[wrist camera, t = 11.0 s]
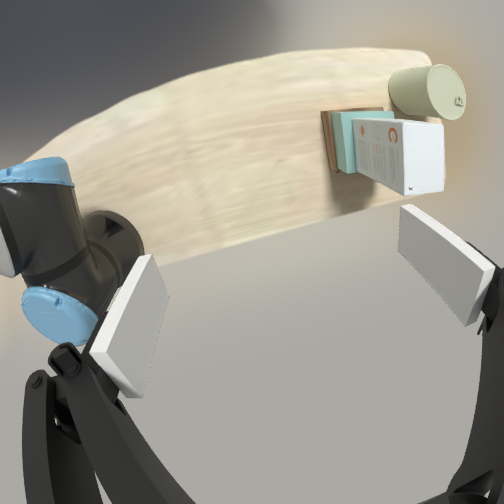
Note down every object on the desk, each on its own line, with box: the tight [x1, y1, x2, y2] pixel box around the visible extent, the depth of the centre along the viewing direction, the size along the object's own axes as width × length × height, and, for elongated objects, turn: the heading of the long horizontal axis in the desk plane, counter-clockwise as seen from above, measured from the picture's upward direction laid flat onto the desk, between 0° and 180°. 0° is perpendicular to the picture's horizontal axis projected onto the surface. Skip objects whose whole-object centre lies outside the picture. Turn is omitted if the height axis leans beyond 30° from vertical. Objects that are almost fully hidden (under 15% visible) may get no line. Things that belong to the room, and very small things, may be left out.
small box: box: [352, 118, 445, 196], centre depth 29 cm, size 8×6×13 cm
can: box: [389, 64, 466, 121], centre depth 32 cm, size 9×9×12 cm
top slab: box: [331, 111, 395, 174], centre depth 36 cm, size 9×9×4 cm
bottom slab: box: [321, 107, 384, 173], centre depth 40 cm, size 10×10×4 cm
